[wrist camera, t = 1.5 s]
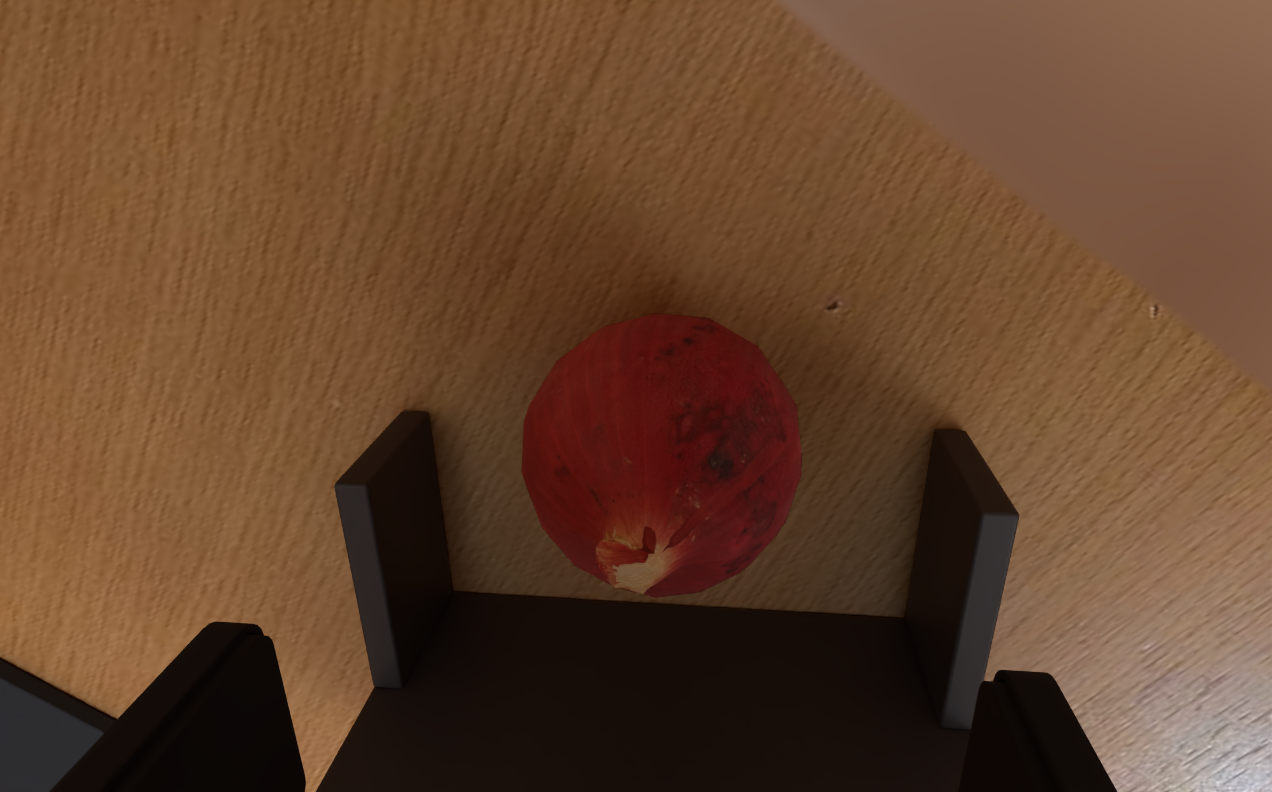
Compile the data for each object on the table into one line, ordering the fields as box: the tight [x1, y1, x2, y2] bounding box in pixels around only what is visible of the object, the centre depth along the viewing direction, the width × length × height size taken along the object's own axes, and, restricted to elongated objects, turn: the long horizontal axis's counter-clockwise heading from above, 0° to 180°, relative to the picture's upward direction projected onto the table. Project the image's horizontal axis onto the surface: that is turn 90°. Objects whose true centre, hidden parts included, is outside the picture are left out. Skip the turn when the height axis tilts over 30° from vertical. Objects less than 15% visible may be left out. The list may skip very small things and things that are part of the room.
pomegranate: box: [522, 313, 802, 598], centre depth 16 cm, size 6×6×8 cm
